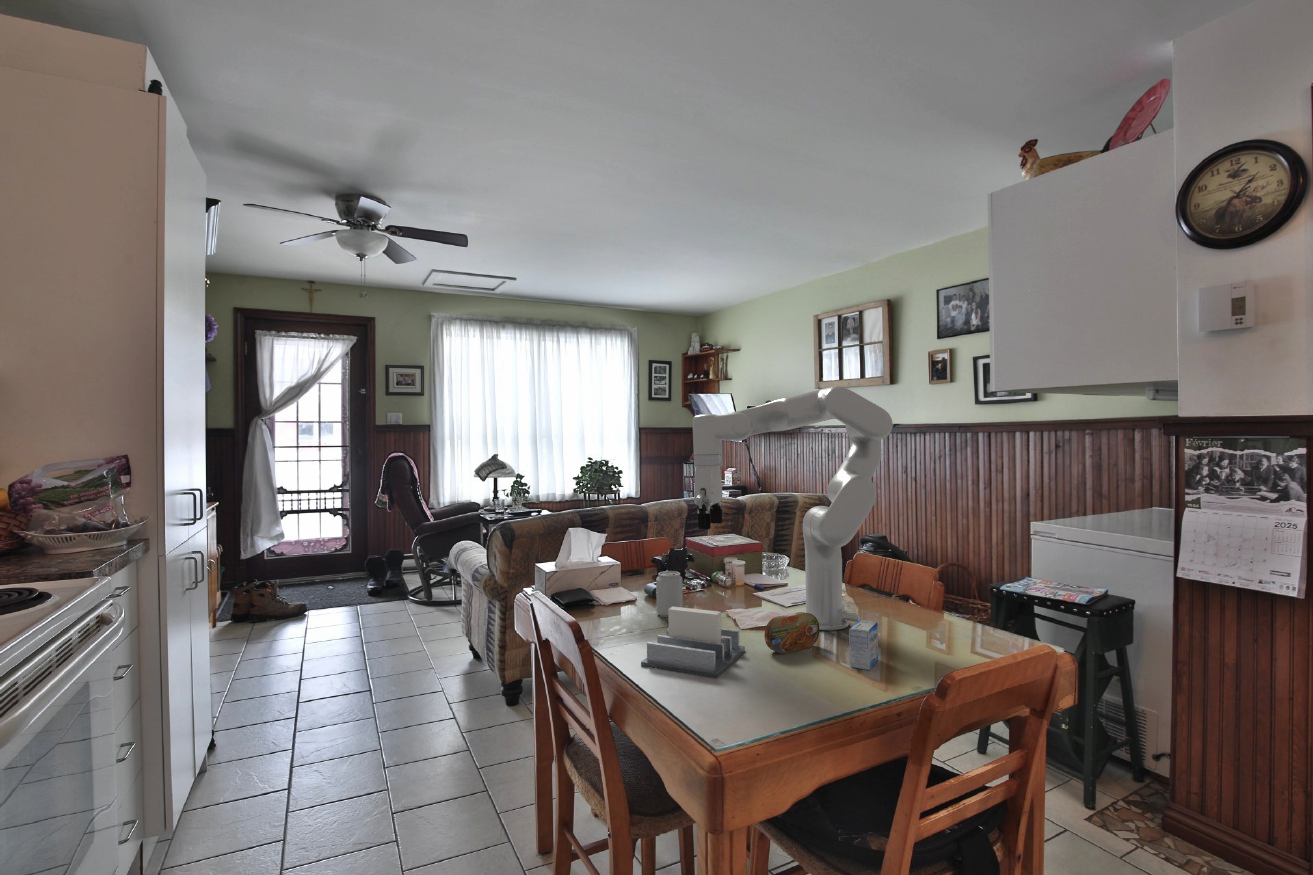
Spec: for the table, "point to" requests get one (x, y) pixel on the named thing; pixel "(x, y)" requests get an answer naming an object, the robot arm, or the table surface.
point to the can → (668, 591)
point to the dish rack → (694, 654)
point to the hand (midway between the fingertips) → (710, 525)
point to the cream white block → (695, 624)
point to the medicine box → (863, 644)
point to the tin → (792, 632)
